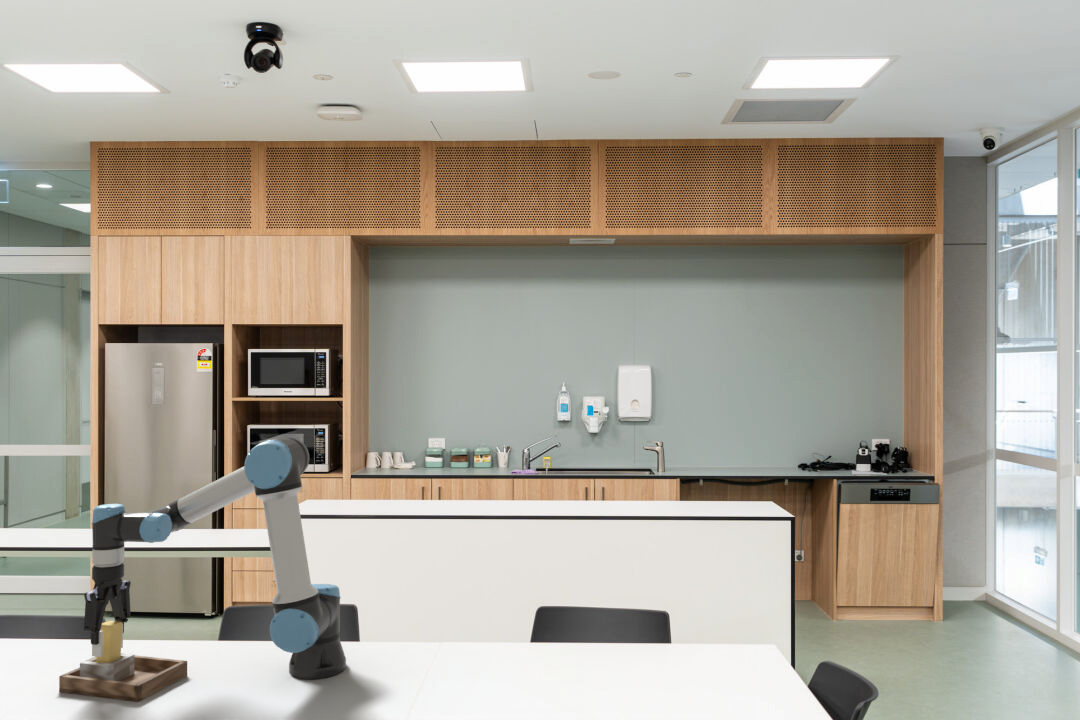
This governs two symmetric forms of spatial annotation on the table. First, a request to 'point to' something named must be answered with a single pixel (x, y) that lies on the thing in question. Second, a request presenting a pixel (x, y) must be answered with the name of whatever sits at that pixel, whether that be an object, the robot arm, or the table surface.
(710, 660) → the table surface
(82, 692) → the brown wooden tray
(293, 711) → the table surface
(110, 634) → the connector
